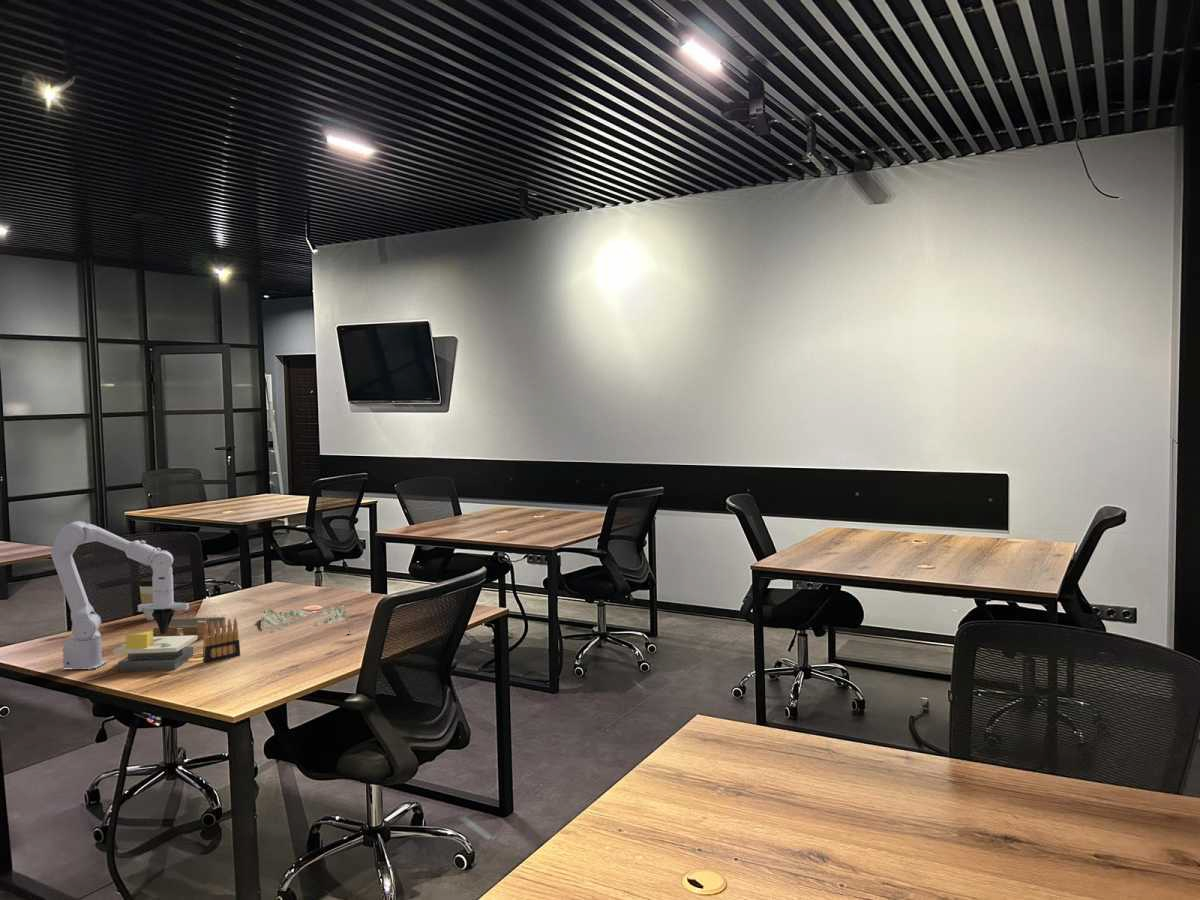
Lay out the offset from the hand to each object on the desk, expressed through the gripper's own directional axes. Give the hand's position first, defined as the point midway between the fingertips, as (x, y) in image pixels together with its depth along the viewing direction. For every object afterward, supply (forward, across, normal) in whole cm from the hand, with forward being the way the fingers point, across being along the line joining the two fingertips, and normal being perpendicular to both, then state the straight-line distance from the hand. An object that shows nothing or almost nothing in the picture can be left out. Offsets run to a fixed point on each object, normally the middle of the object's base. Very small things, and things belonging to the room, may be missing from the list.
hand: (164, 633), depth 258 cm
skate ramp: (+9, +5, -26) cm, 28 cm away
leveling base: (+8, 0, +6) cm, 10 cm away
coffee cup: (+8, +26, -55) cm, 61 cm away
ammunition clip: (+8, -18, +3) cm, 20 cm away
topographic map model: (+9, -34, -34) cm, 49 cm away
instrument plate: (+2, 0, +6) cm, 6 cm away
